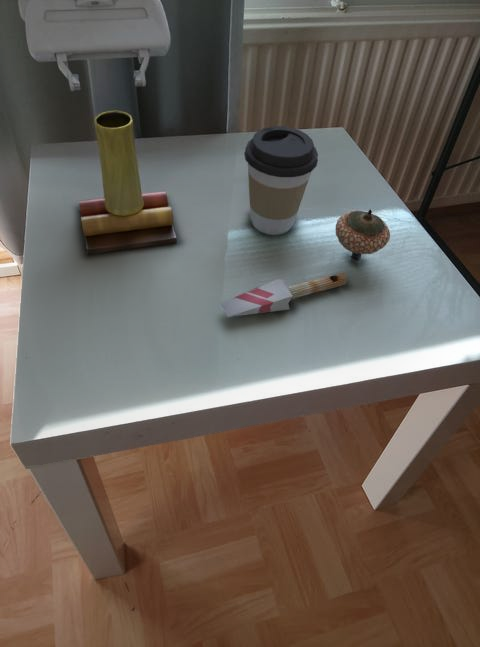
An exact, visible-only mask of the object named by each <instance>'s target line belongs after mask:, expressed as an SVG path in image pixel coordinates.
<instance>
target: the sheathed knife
mask: <svg viewBox="0 0 480 647" xmlns="http://www.w3.org/2000/svg"><path fill="white" fill-rule="evenodd" d="M347 279H348V278H347V276H346V274H344V273H343V272H340V273H338V274H332V275H328V276H325V277H321V278H316V279H313V280H309V281H307V282H301V283H298V284H294V285H290V286H287V285H286V283H285V282H284V281H283V280H282V279H281V278H278V279H276V280H273V281H270V282H268V283H266V284H262V285H260V286H259V287H256V288H254V289H251V290H249V291H246V292H244V293H241V294H238V295H236V296H234V297H231V298H228V299H226V300H224V301H222V302H219V305H220V306H221V308H222V310H223V311H224V313H225V315H226V316H227V317H228V318H229V317H238V316H245V315H246V316H247V315H255V314H262V313H271V312H279V311H280V312H281V311H287V310H289V311H290V310H291V308H290V304H289V302H290V301H291V300H292V299H296V298H300V297H303V296H304V297H305V296H308V295H311V294H315V293H319V292H322V291H326V290H330V289H333V288H337V287H341V286H344V285H346V284H347V281H348V280H347Z"/></svg>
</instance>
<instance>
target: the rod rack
mask: <svg viewBox="0 0 480 647" xmlns="http://www.w3.org/2000/svg"><path fill="white" fill-rule="evenodd" d="M141 193H142V198H143V201H144V205H143V208H142V209H141V210H140V211H139V212H137V213H136V214H133V215H129V216H117V215H114V214H111V213H110V212H108V211H107V210H106V208H105V199H104V197H97V198H88V199H79V200H78V205H79V212H80V215H81V216H80V221H81V226H82V231H83V235H84V241H85V247H86V254H87V255H93V254H94V255H95V254H100V253H101V254H102V253H108V252H115V251H116V252H117V251H123V250H131V249H137V248H139V249H140V248H144V247H145V248H146V247H153V246H160V245H161V246H162V245H167V244H176V243H178V242H177V240H178V239H177V235H176V233H175V229H174V214H173V210H172V207H171V206H169V201H168V195H167V194H168V193H167V192H166V190H160V191H151V192H141Z"/></svg>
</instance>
